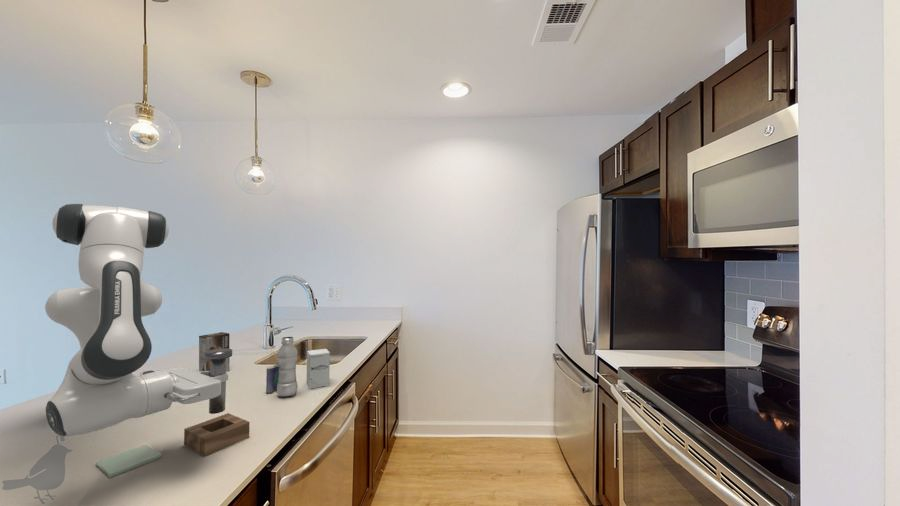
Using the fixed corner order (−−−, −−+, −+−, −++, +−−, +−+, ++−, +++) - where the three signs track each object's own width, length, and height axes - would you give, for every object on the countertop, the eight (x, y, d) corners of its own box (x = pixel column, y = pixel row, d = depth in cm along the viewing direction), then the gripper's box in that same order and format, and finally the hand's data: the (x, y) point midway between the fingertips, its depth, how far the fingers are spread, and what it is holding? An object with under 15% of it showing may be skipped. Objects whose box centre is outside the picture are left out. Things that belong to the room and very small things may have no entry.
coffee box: (222, 368, 149) (222, 331, 150) (229, 371, 146) (230, 333, 146) (197, 374, 141) (198, 335, 142) (205, 377, 138) (206, 337, 138)
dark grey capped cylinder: (198, 412, 88) (200, 352, 88) (223, 404, 93) (225, 347, 94) (210, 418, 85) (211, 355, 85) (235, 409, 90) (237, 350, 91)
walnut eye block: (183, 444, 87) (184, 428, 87) (227, 427, 96) (228, 413, 96) (204, 456, 82) (205, 439, 82) (249, 437, 91) (249, 421, 91)
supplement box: (308, 389, 124) (309, 354, 125) (306, 383, 131) (306, 350, 131) (329, 386, 128) (330, 352, 128) (326, 380, 134) (326, 347, 135)
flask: (268, 394, 120) (269, 363, 120) (263, 393, 121) (264, 362, 122) (292, 386, 128) (292, 357, 128) (287, 384, 129) (287, 356, 130)
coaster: (95, 465, 78) (95, 462, 78) (145, 446, 86) (145, 444, 86) (110, 477, 74) (110, 474, 74) (161, 456, 81) (161, 454, 81)
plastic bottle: (289, 399, 115) (290, 340, 116) (272, 398, 116) (272, 339, 117) (301, 392, 121) (302, 336, 122) (284, 391, 123) (285, 335, 123)
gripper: (177, 387, 73) (244, 369, 85) (138, 370, 83) (202, 356, 95) (176, 417, 73) (243, 395, 85) (138, 396, 83) (202, 379, 95)
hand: (221, 374), depth 90 cm, fingers closed on dark grey capped cylinder, 3 cm apart
